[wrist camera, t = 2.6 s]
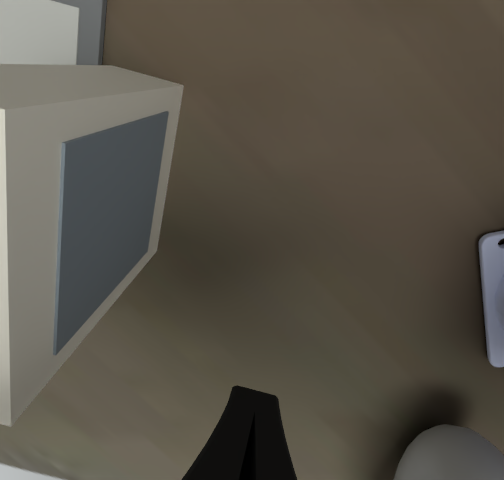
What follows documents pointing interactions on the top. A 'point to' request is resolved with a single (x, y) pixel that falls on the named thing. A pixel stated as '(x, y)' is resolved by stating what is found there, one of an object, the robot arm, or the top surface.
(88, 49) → the mat
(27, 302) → the card box
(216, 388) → the top surface
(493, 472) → the donut
